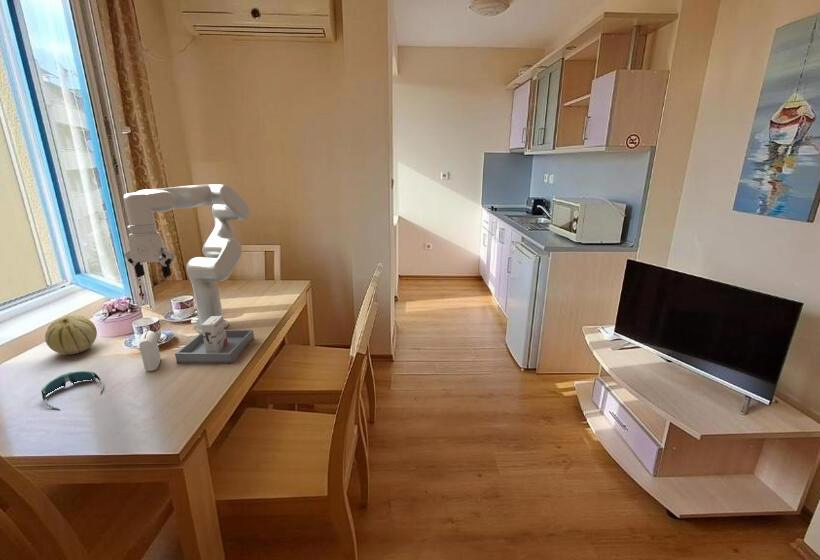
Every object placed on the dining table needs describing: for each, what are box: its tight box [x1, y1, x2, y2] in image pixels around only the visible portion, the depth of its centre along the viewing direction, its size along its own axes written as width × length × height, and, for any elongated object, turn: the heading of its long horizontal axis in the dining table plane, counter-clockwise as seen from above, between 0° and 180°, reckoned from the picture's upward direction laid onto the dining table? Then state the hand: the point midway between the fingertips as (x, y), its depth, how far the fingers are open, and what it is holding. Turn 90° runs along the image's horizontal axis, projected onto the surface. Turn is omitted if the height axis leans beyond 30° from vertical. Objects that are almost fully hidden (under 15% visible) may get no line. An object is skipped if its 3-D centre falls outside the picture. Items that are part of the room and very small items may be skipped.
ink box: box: [201, 315, 228, 353], centre depth 146 cm, size 9×5×12 cm, turn 1°
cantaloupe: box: [44, 314, 98, 355], centre depth 145 cm, size 15×15×15 cm
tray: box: [174, 329, 255, 365], centre depth 147 cm, size 20×20×4 cm
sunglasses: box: [40, 370, 105, 409], centre depth 121 cm, size 14×15×5 cm
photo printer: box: [138, 330, 162, 372], centre depth 136 cm, size 10×4×12 cm, turn 26°
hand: (154, 276), depth 138 cm, fingers open, 9 cm apart
